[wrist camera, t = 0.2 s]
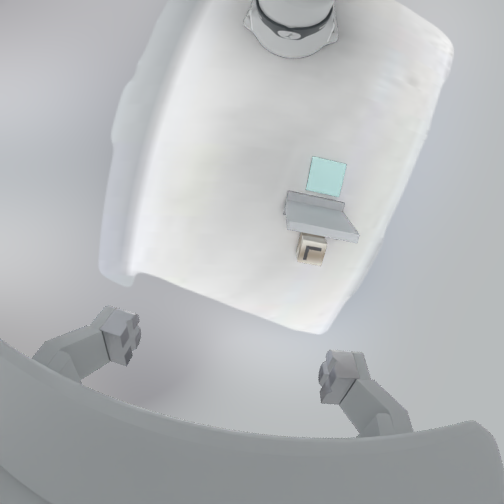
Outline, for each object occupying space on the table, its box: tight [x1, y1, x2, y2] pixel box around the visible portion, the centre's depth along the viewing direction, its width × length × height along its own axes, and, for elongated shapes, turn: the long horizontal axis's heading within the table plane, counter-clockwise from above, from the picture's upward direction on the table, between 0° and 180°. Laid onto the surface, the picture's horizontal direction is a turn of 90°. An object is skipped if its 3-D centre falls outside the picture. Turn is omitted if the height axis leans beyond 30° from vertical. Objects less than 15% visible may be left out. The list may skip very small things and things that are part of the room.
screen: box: [283, 191, 360, 243], centre depth 50 cm, size 5×12×14 cm, turn 81°
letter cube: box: [296, 232, 327, 266], centre depth 57 cm, size 5×5×5 cm
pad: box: [306, 156, 347, 197], centre depth 53 cm, size 7×7×1 cm
